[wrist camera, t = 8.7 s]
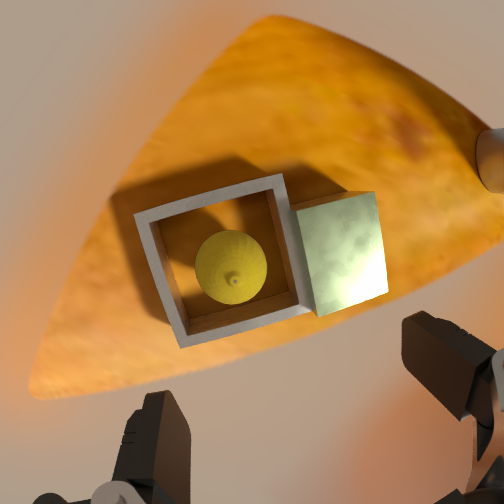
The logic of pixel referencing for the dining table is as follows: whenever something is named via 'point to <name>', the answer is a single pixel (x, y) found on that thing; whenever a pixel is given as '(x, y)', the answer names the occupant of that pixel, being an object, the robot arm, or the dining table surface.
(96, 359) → the dining table surface
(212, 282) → the lemon
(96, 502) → the robot arm
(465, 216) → the dining table surface
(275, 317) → the square open box
